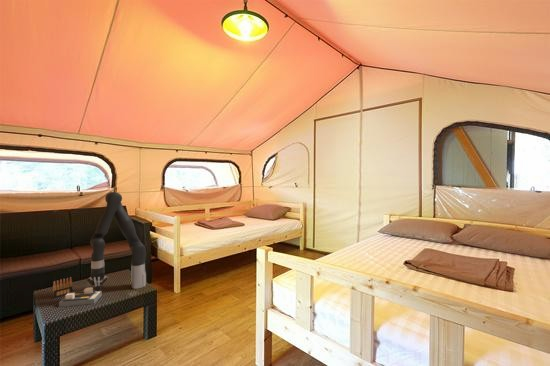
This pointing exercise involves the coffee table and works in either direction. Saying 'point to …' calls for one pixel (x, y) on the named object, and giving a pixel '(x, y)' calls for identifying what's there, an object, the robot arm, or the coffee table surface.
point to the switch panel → (81, 299)
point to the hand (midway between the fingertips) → (98, 290)
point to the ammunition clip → (62, 288)
